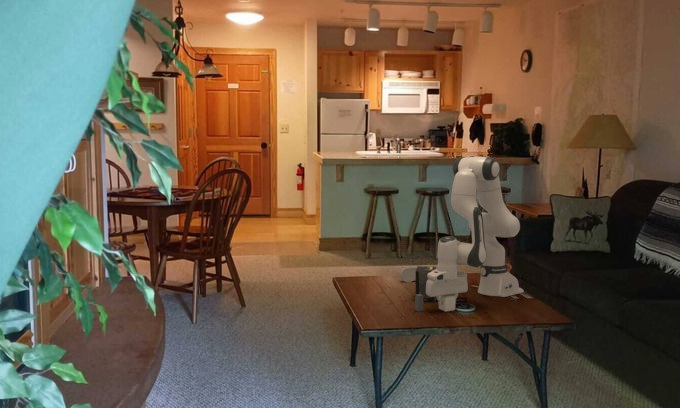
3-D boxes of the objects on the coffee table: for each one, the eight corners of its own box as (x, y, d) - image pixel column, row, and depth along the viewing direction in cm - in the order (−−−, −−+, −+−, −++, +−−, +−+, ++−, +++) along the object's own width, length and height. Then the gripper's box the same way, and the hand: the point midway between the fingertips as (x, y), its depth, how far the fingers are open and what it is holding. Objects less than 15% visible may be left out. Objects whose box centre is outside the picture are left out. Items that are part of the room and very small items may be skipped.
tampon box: (435, 302, 288) (435, 271, 286) (415, 301, 289) (415, 270, 288) (436, 296, 298) (436, 266, 297) (417, 295, 300) (417, 265, 298)
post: (420, 309, 277) (420, 293, 276) (423, 310, 274) (423, 295, 274) (414, 309, 276) (415, 294, 275) (418, 311, 273) (418, 296, 272)
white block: (448, 307, 280) (448, 292, 279) (455, 310, 275) (455, 295, 274) (438, 308, 278) (438, 294, 277) (445, 311, 273) (445, 296, 272)
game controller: (435, 280, 331) (435, 264, 330) (436, 281, 328) (436, 265, 327) (400, 281, 327) (399, 266, 326) (401, 282, 325) (401, 267, 324)
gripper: (462, 269, 281) (462, 299, 283) (424, 274, 273) (423, 304, 275) (471, 272, 276) (470, 302, 277) (431, 277, 267) (431, 308, 269)
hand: (446, 303), depth 276 cm, fingers closed on white block, 5 cm apart
